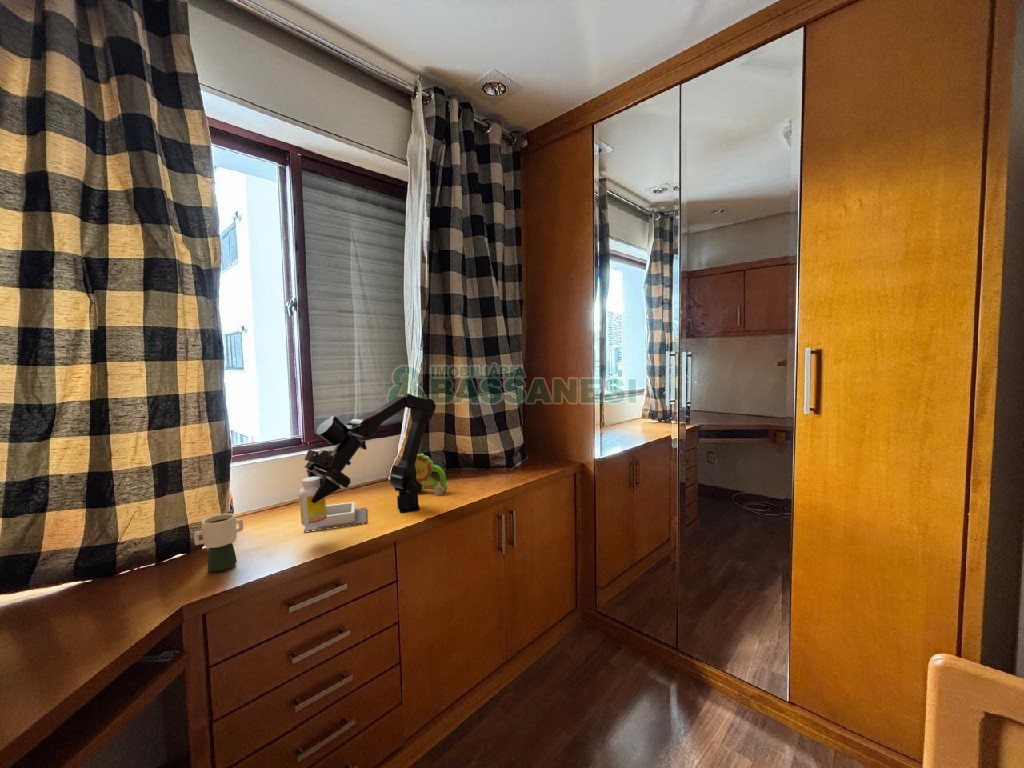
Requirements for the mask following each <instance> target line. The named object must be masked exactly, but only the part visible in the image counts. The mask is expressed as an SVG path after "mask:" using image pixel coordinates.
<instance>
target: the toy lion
mask: <svg viewBox="0 0 1024 768" xmlns="http://www.w3.org/2000/svg"><path fill="white" fill-rule="evenodd" d="M415 468H416V472H417V475H416V480H417V481H418V482H419V483H420V484H421V485H422V490H421V492H422V491H425V490H431V491H433V493H434V494H435V496H441V495H443V494H444V493H445V492H446V491H447V490H448V484H447V477H446V476H447V475H446V473H445V471H444V469H443V467H441V466H440V465H438V464H434V461H433V460H432V459H431V458H430V456H428V455H425V454H424V453H420V454H419V453H418V455H417V458H416V462H415ZM433 472H436V473H437V474H438V475H439V479H440V482H438V481H437V479H435V478H433V477H432V473H433Z"/></svg>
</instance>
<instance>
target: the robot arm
mask: <svg viewBox="0 0 1024 768" xmlns="http://www.w3.org/2000/svg"><path fill="white" fill-rule="evenodd" d="M436 407H437V404H436V403H435V401H434V399H432V398H427V397H426V398H425V397H419V396H415V395H412V394H411V393H403V392H402V393H399V394H398V395H397V396H396V397H395V398H393V399H391V400H390V401H388V402H386V403H385V404H383V405H382V406H380V407H379V408H377V409H375V410H374V411H372V412H369V413H365V414H362V415H359V416H357V417H353V418H352V419H351V420H350V422H348V423H343V422H342V421H340V419H339V418H338V417H337V416H336V415H335V416H334V415H331V416H330V417H329V418H328V419H326V420H323V422H322V423H319V425H318V426H317V429H316V431H315V432H316V435H318V436H320V437H321V438H322V439H323V440H325V441H326V442H327V443H328V444H330V445H331V446H335V445H336V446H335V448H333V450H326V449H325V450H324V449H319V451H317V450H313V449H307V452H306V455H305V458H304V461H308V462H307V463H306V464H305V466H304V468H305V469H306V473H307V478H308V477H320V487H319V489H318V490H317V492H316V494H315V495H314V497H313V499H312V501H311V502H313V503H316V502H318V501H319V500H321V499H323V498H324V497H325V498H326V497H327V496H330V495H331V494H333V493H335V492H336V491H339V490H341V489H342V488H344V489H348V487H349V486H350V484H351V477H349V476H348V475H346V474H345V473H343V472H342V471H344V469H345V467H346V466H350V465H352V462H351V459H352V458H353V457H354V456H355V455H356V452H358V450H359V449H360V450H361V449H362V450H365V451H366V450H367V448H368V447H367V445H366V440H363V439H359V438H358V437H360V438H369V437H372V436H373V435H374V434H375V433H376V432H377V431H378V430H379V429H380V427H381V425H383V423H384V422H385V421H387V420H389V419H390V418H392V417H393V416H395V415H396V414H398V413H400V412H401V411H402V410H404V409H406V408H407V409H410V412H409V413H410V418H411V424H410V428H409V431H408V434H407V437H406V438H407V439H406V442H405V445H404V448H403V452H402V455H401V459H400V461H399V462H398V464H393V465H392V467H391V468H392V469H391V472H390V474H389V475H388V476H389V481H390V484H391V486H392V487H393V489H394V491H395V492H398V495H397V496H396V497H397V498H396V501H397V502H396V503H397V505H396V506H397V509H398V510H399V513H409V512H415V511H420V509H421V508H420V506H419V505H420V504H419V493H421V492H422V491H423V490H422V485H421V484H420V483H419V482H418V481H417V480H416V475H417V472H416V468H415V462H416V458H417V455H418V454H419V450H420V447H421V443H422V440H423V436H424V432H425V428H426V425H427V424H428V423H429V421H430V420H431V419H432V418H433V416H434V413H435V411H436V409H437V408H436ZM350 434H351V435H350ZM421 490H422V491H421Z"/></svg>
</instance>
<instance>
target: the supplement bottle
mask: <svg viewBox="0 0 1024 768" xmlns="http://www.w3.org/2000/svg"><path fill="white" fill-rule="evenodd" d="M301 485H302V488H301V489H300V490H299V491H298V492H299V493H298V497H299V510H300V519H301V520H300V522H301V526H303V527H306V526H308V527H311V526H317V525H320V524H322V523H324V522H325V521H326V520H327V514H326V505H327V504H326V503H327V501H326V497H324V498H323V499H321V500H319V501H318V502H316V503H313V502H311V501H312V499H313V497H314V495H315V494H316V492H317V490H318V489H319V487H320V477H308V476H307V477H304V478H303V479H302V480H301Z"/></svg>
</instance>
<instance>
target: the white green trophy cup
mask: <svg viewBox="0 0 1024 768" xmlns="http://www.w3.org/2000/svg"><path fill="white" fill-rule="evenodd" d="M237 525H238V528H237ZM241 531H244V521H243V519H242V518H239V519H236V515H235V514H234V513H221V514H214V515H212V516H209V517H206V518H205V519H203V520H202V521H201V530H199V531H196V532H194V534H193V539H194V545H195V546H198V545H202V544H203V546H205V547H206V548H207V549H208V554H207V564H206V565H207V571H211V572H220V571H221V572H222V571H225V570H228V569H231V568H233V567H234V566H235V565H236V564H237V562H238V560H237V555H236V551H235V548H234V544H233V542H235V541H236V539H237V537H238V536H237V535H238V533H240V532H241ZM200 535H202V539H200V537H199V536H200Z"/></svg>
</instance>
